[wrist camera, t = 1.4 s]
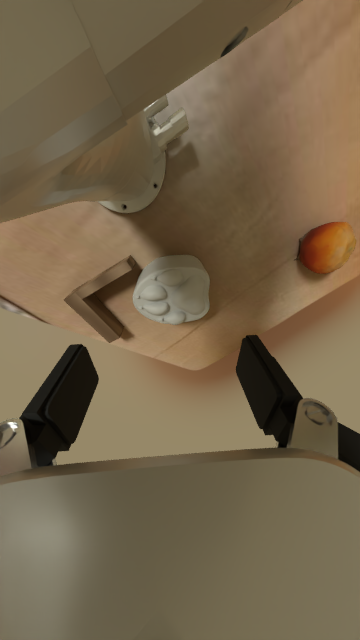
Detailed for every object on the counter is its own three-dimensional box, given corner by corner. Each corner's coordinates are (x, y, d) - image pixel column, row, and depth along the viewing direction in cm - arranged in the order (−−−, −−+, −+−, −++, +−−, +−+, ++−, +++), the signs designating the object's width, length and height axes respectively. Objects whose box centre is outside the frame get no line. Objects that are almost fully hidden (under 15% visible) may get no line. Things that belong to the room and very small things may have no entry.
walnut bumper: (130, 255, 32) (126, 261, 28) (164, 305, 38) (164, 315, 35) (73, 290, 34) (63, 299, 31) (113, 331, 41) (109, 343, 37)
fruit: (286, 234, 30) (345, 232, 24) (310, 218, 33) (369, 212, 27) (284, 277, 35) (334, 284, 28) (306, 260, 37) (356, 263, 31)
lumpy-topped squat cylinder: (202, 301, 38) (211, 324, 31) (143, 308, 38) (138, 333, 31) (202, 251, 32) (212, 266, 25) (131, 259, 32) (122, 276, 25)
